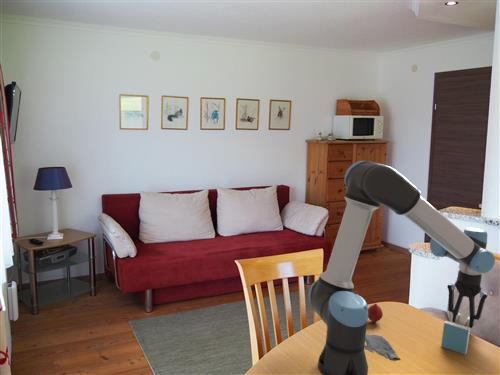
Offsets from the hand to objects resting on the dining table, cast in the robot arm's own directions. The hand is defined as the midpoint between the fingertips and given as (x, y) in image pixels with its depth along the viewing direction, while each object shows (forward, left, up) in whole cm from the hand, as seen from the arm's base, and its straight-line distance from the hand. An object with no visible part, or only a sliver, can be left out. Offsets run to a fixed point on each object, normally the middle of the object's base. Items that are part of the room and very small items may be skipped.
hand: (461, 333), depth 162 cm
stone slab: (-21, -27, -3) cm, 34 cm away
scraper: (0, 0, 0) cm, 0 cm away
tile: (0, -10, -2) cm, 10 cm away
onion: (-29, -10, -3) cm, 31 cm away
